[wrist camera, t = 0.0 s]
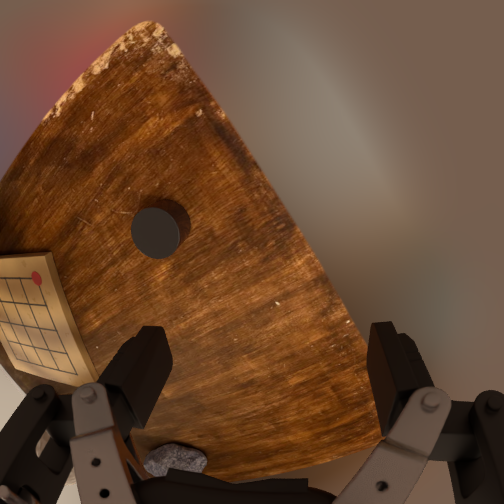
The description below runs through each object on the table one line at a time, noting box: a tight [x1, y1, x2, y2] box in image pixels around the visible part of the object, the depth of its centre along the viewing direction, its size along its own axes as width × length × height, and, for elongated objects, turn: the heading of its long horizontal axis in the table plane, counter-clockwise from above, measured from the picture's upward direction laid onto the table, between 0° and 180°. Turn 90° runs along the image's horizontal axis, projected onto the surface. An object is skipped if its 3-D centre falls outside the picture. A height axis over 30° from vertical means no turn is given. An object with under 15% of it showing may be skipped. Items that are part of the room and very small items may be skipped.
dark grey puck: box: [131, 200, 190, 259], centre depth 28 cm, size 5×5×3 cm
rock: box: [144, 443, 207, 477], centre depth 43 cm, size 12×5×10 cm
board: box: [0, 252, 99, 387], centre depth 37 cm, size 22×22×2 cm
